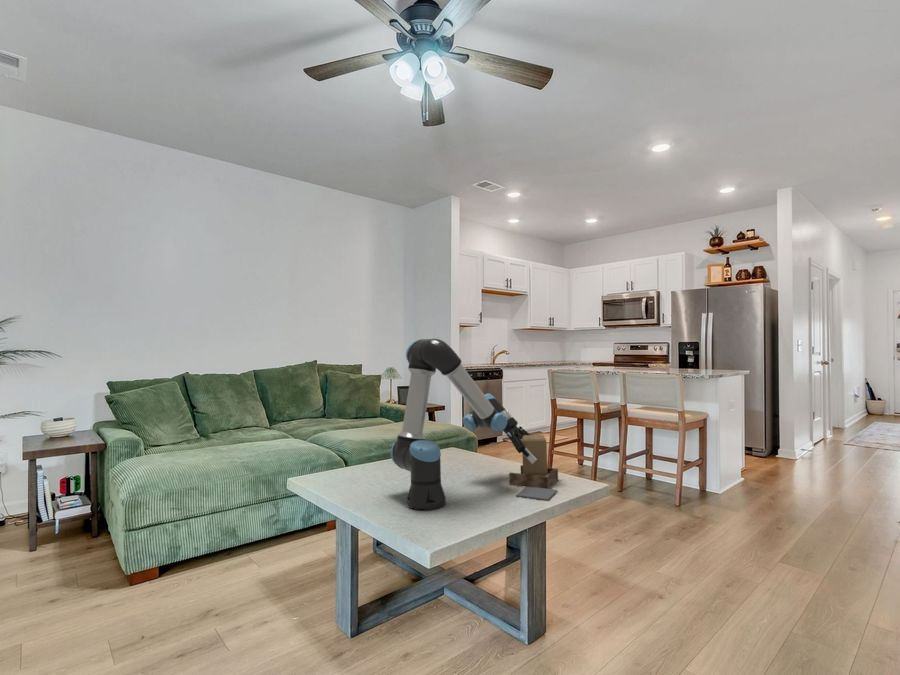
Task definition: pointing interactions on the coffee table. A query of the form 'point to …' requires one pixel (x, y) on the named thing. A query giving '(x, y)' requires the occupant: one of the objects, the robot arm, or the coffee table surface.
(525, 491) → the pad
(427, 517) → the coffee table surface
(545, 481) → the wooden u-shaped frame
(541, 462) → the wooden block
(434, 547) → the coffee table surface
